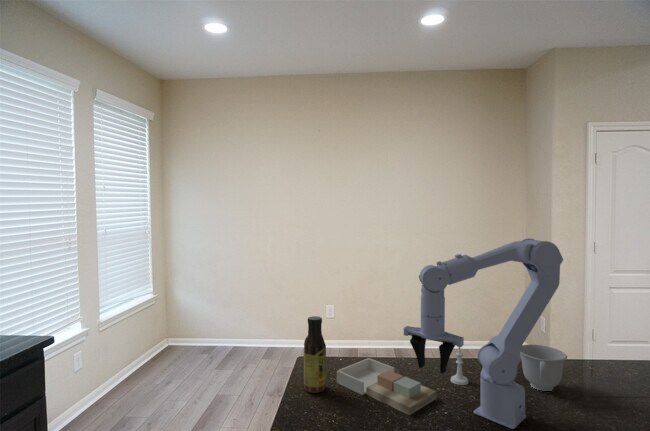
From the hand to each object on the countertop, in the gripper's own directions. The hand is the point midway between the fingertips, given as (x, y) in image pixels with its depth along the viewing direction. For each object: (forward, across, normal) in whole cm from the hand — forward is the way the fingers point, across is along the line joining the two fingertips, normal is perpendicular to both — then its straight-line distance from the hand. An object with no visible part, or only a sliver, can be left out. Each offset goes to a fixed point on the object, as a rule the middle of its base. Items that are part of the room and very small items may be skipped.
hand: (432, 369), depth 92 cm
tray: (+11, +22, -5) cm, 25 cm away
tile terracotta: (+8, +13, -3) cm, 16 cm away
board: (+10, +9, -2) cm, 14 cm away
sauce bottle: (+11, +31, +8) cm, 34 cm away
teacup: (+10, -21, -29) cm, 37 cm away
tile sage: (+8, +7, -2) cm, 11 cm away
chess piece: (+10, -1, -20) cm, 23 cm away
